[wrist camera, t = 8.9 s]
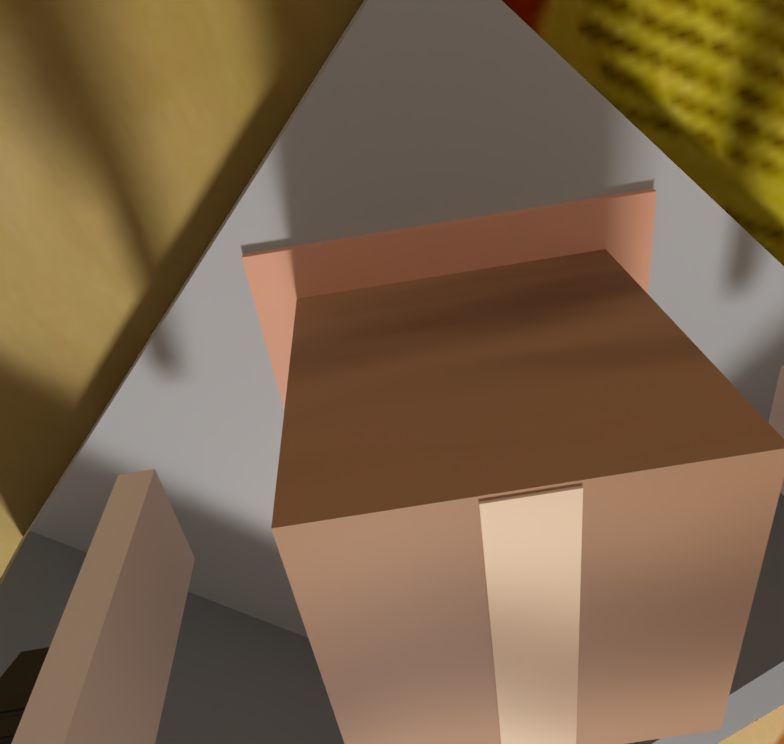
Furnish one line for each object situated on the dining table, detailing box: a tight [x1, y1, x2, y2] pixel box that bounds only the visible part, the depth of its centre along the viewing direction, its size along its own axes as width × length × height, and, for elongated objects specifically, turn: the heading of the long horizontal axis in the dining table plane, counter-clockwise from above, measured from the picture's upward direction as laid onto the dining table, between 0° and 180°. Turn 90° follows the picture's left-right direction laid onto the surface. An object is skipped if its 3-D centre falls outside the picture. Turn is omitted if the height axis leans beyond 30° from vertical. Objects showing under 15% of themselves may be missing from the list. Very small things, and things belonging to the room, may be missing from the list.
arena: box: [0, 0, 784, 744], centre depth 16 cm, size 17×19×6 cm
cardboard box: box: [271, 249, 784, 744], centre depth 13 cm, size 7×7×7 cm
